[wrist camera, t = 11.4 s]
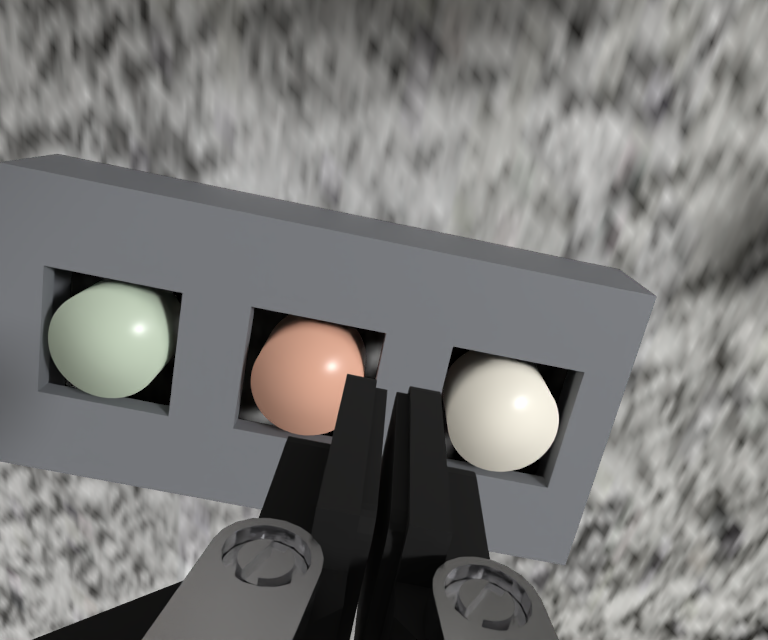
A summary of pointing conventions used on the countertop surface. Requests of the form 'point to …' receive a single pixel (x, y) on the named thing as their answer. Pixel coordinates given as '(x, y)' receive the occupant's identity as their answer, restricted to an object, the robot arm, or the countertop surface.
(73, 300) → the sage button
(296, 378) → the terracotta button
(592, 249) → the countertop surface
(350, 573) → the robot arm
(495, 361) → the cream button
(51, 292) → the button box
